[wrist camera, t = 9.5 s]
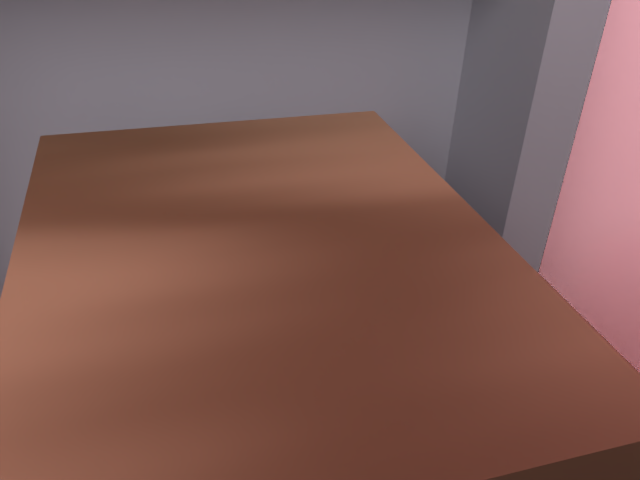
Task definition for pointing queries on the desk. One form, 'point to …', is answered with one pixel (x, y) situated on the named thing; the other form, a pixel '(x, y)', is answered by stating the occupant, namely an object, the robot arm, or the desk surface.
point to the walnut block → (288, 319)
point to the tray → (315, 83)
